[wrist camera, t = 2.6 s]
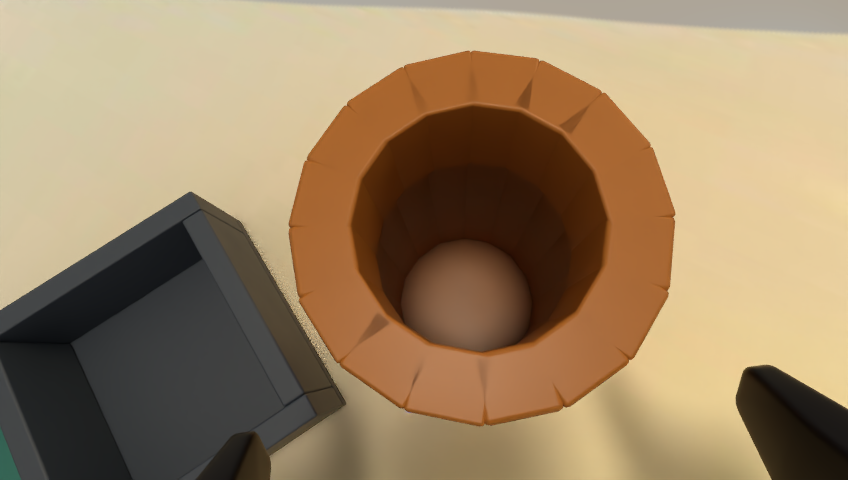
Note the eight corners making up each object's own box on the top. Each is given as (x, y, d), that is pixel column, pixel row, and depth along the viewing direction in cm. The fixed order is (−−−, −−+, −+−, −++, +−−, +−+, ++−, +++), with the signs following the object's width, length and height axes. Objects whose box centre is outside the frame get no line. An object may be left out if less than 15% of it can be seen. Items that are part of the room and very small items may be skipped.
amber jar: (528, 393, 19) (659, 463, 7) (380, 364, 19) (246, 379, 7) (548, 246, 20) (689, 75, 8) (408, 223, 21) (336, 32, 8)
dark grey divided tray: (346, 403, 19) (317, 415, 15) (-49, 671, 18) (-190, 758, 14) (240, 220, 21) (190, 190, 17) (-122, 450, 20) (-263, 473, 16)
